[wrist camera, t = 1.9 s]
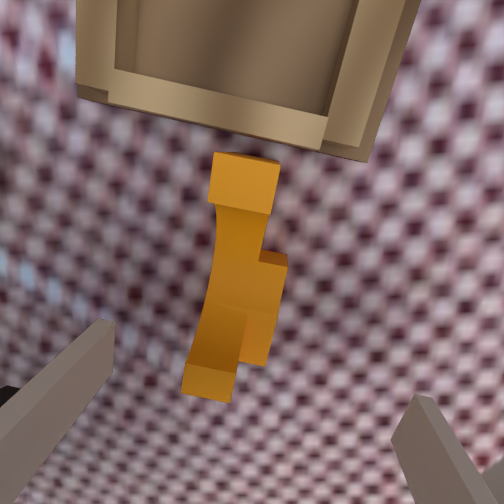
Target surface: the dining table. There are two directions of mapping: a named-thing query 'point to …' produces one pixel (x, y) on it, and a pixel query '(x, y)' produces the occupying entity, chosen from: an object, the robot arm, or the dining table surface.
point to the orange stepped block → (237, 278)
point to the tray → (249, 65)
